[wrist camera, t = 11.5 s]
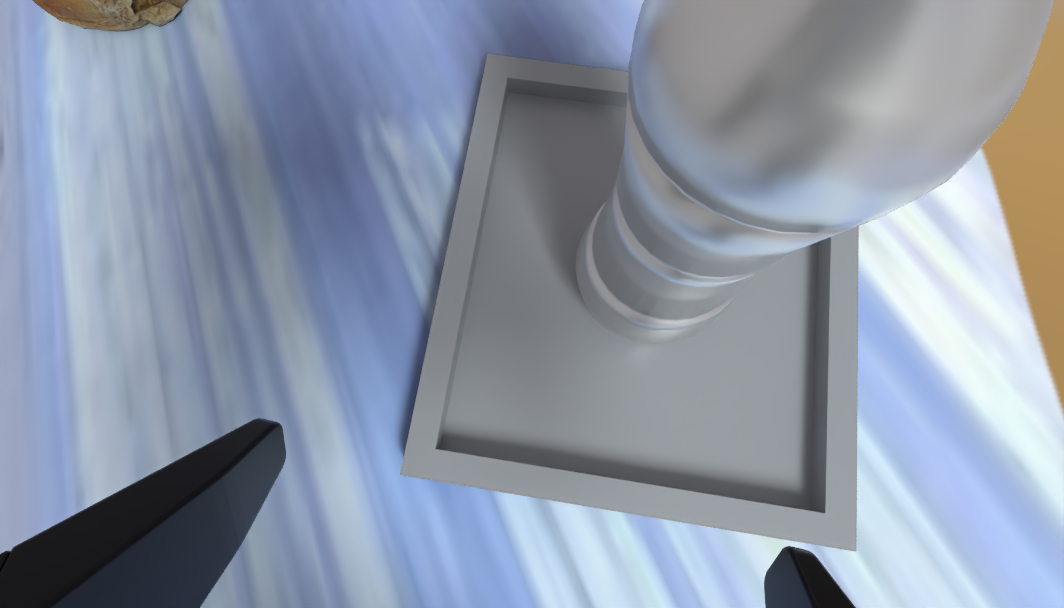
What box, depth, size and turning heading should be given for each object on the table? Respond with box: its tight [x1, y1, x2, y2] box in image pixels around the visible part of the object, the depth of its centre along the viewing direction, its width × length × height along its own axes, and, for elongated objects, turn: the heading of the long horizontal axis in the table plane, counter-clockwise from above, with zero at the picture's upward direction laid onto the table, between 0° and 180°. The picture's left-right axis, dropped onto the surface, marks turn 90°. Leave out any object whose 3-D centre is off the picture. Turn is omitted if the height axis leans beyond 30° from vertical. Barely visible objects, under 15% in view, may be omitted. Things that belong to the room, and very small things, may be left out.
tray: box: [400, 54, 858, 551], centre depth 23 cm, size 20×18×2 cm
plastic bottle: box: [575, 0, 1054, 343], centre depth 14 cm, size 6×7×20 cm
